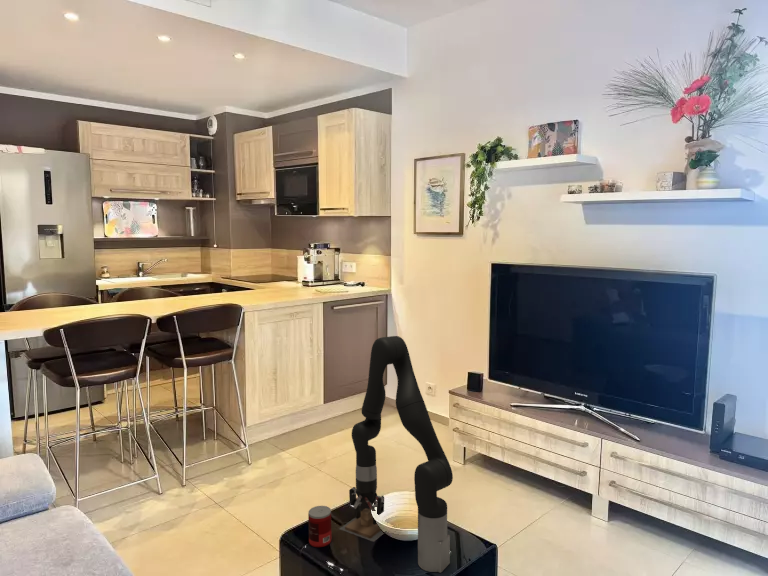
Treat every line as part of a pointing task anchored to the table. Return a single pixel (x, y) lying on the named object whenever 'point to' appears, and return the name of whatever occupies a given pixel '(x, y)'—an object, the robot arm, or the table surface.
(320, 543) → the canned food
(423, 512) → the robot arm
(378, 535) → the mat
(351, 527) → the lid
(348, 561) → the table surface
